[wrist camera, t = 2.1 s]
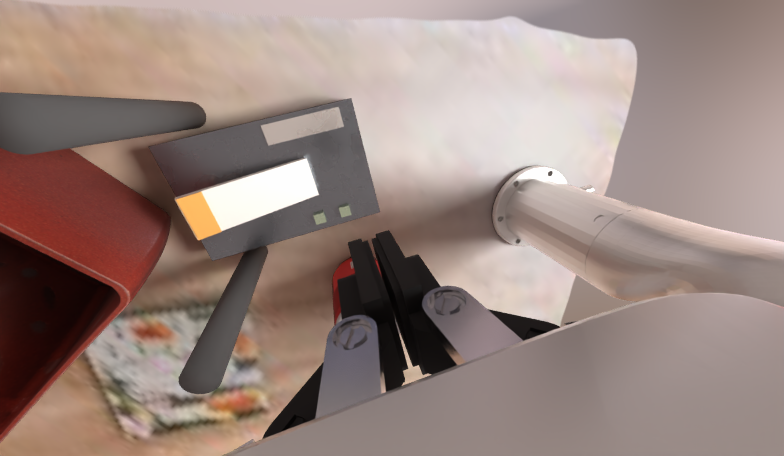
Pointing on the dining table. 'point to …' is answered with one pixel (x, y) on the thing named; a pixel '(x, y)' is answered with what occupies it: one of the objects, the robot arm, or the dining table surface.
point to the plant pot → (64, 266)
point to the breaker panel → (272, 148)
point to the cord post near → (86, 120)
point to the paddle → (246, 198)
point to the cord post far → (223, 327)
